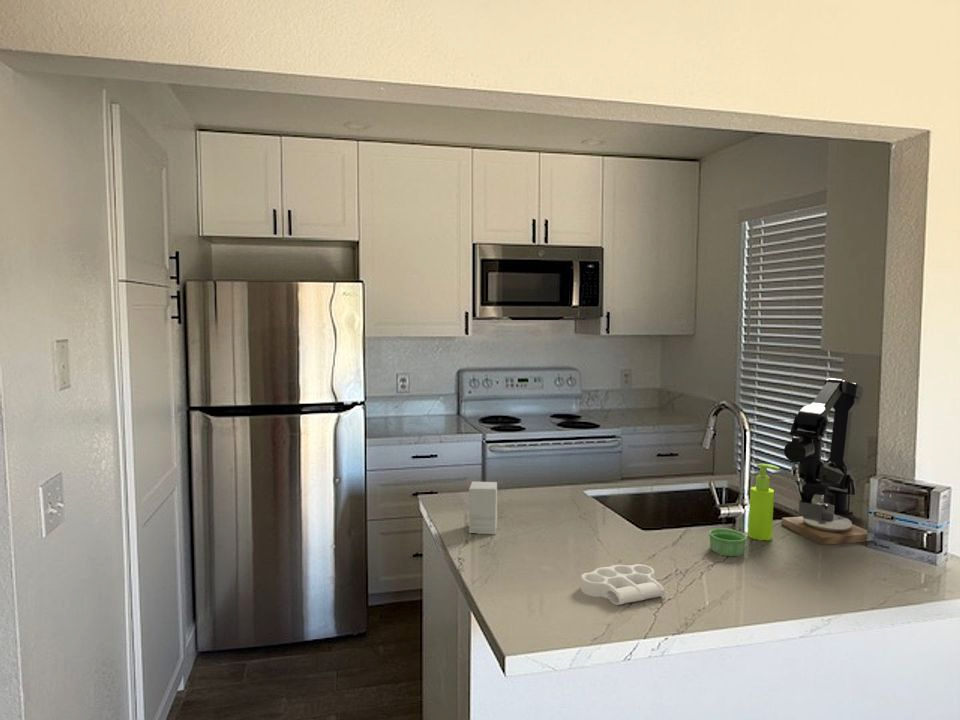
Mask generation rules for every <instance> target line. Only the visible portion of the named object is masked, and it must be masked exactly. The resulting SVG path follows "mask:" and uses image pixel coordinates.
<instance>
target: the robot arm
mask: <svg viewBox="0 0 960 720" xmlns="http://www.w3.org/2000/svg"><path fill="white" fill-rule="evenodd" d="M863 392H864V391H863V386H860V384H859V383H858V382H850V381H847V380H844V379H843V378H834V377H833V378H832V377H831V378H826V379H825V381H824V385H823V387H822V388H821V389H820V390H819V392H818V394H817V395H816V397H814V399H813V401H812V403H811V404H807V405H805V406H803V407H802V408H801V409H800V410H798V412H797V413H796V414H795V416H794V420H793V422H792V426H791V428H790V432H789V436H792V437H791V441H789V442H788V443H787V444H785V446H784V449H783V454H784V457H786V459H787V460H789V461H790V462H791V463H796V464H793V465H792V466H791V467H790V474H791V476H792V477H795V476H796V477H797V480H794V484H795V486H796V488H797V492H798V494H799V497H800V500H803V501H810V502H813V499H814V496H815V495H817V496H818V495H819V496H823V503H828V504H832V505H834V514H835V515H844V514H845V515H846V514H853V513H854V511H853V510H851V509H850V503H851V501H850V500H851V496H854V495H856V491H857V483H856V481H855V479H854V476H853V468H852V466H851V465H850V463H849V461H848V454H849V444H850V436H851V428H852V427H851V426H852V417H853V412H854V411H855V409H856V408H857V407H858V406H859V405H860V402H861V399H862V398H863ZM832 408H833V410H834V411H833V413H834V414H833V421H832V422H833V423H832V432H831V433H832V434H831V439H830V440H831V441H830V449H829V451H830V452H829V458H828V459H827V460H826V461H825V462H824V461H823V460H822V449H823V448H822V447H823V439H824V436H825V435H826V432H827V429H828V426H829V419H828V415H829V413H830V412H831V410H832ZM798 429H799V430H798Z"/></svg>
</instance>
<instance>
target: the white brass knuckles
mask: <svg viewBox="0 0 960 720" xmlns="http://www.w3.org/2000/svg"><path fill="white" fill-rule="evenodd" d="M580 591H581V592H582V593H583V594H584V595H586V596H590V597H595V598H600V597H601V598H605V599H608V600H609V601H610V603H612V604H613V605H616V606H620V605H623V604H629V603H634V602H640V601H643V600H649V599H650V600H651V599H655V598H660V597H664V596H665V595H666V594H665V593H666V592H665V588H664V586H663V585H662V584H661V583H660V582H659V581H658V580H656V579H655V569H654V568H653V567H651V566H649V565H646V564H642V563H641V564H640V563H636V564H631V565H628V564H627V565H625V564H613V565H610V566H607V567H605V566H600V567H597V568H595V569H594V570H593V571H591V572H590V571H589V572H584V573H582V574H581V576H580Z"/></svg>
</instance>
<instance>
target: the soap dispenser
mask: <svg viewBox="0 0 960 720" xmlns="http://www.w3.org/2000/svg"><path fill="white" fill-rule="evenodd" d="M757 468H759V474H756V477H755V486H751V487H750V489H749V490H750V495H749V511H748V512H749V514H748V515H749V516H748V528H747V529H748V532H747V533H748V534H747V535H748V538H750V539H753V540H756V539H757V541H763V540H766V541H771V540H772V539H773V522H774V521H773V520H774V519H773V518H774V505H775V504H774V503H775V502H774V501H775V490H774V489H773V488H770V482H771V481H770V480H771V477H770V476H768V475H767V474H768V473H767V472H768V471H767V470H768V469H771V470H775V471H778V470H780V469H781V468H780V467H779V466H777V465H774V464H771V463H770V464H769V463H760V462H759V463H758V464H757Z"/></svg>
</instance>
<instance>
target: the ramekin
mask: <svg viewBox="0 0 960 720" xmlns="http://www.w3.org/2000/svg"><path fill="white" fill-rule="evenodd" d="M708 536H709V545H710V550H711V551H712V552H713V551H714V552H713V553H715V552H716V553H715V554H717V553H718V555H720V554H722V555H721V556H724V555H728V556H727V557H739V555H740V556H742V555H744V552H745V546H746V542H747V539H748V537H747V535H746V534H745V533H744V532H741V531H739V530H736V529H731V528H730V529H729V528H723V527H722V528H713V529H711V530H709V531H708Z"/></svg>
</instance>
